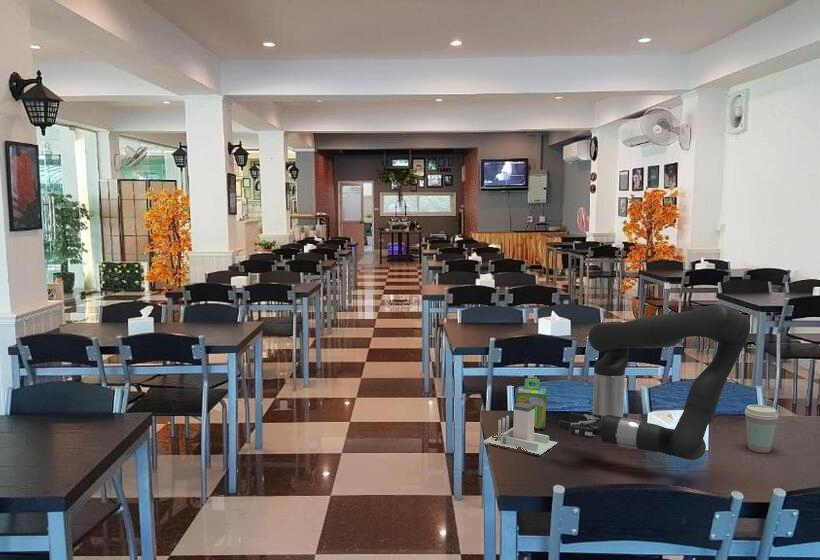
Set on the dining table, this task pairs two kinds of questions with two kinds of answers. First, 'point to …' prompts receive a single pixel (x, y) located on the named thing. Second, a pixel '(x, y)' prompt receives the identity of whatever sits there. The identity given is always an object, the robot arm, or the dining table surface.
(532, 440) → the block
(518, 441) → the header socket
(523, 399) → the chalk box
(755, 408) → the coffee cup
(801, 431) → the dining table surface
